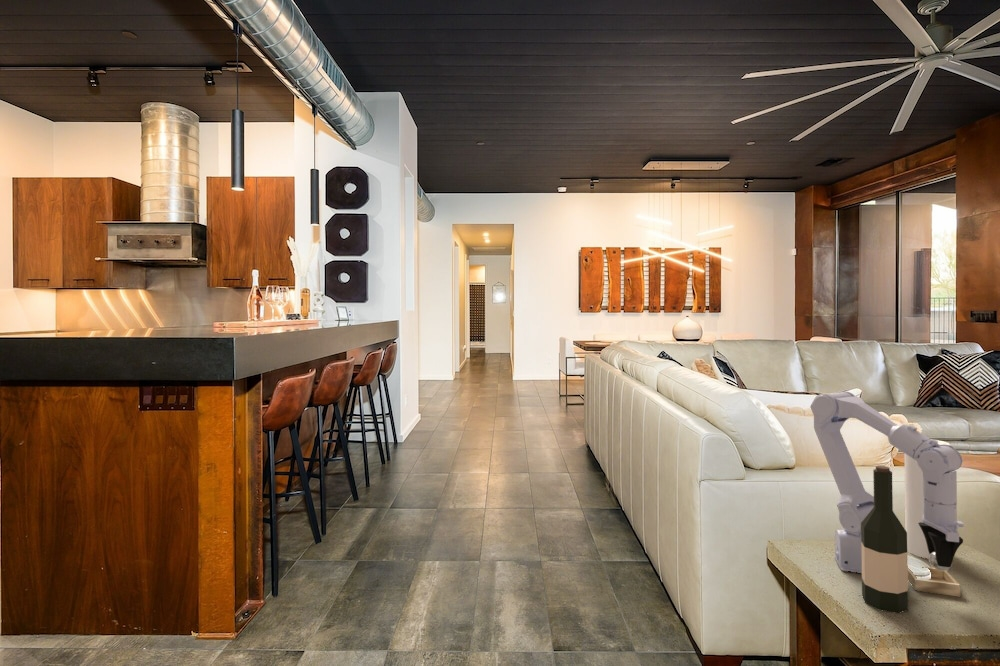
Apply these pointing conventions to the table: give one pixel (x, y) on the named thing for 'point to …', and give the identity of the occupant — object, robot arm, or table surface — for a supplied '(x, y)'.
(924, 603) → the table surface
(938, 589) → the tray
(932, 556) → the ball
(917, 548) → the paper towel roll
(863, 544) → the wine bottle
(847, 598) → the table surface
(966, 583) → the table surface
